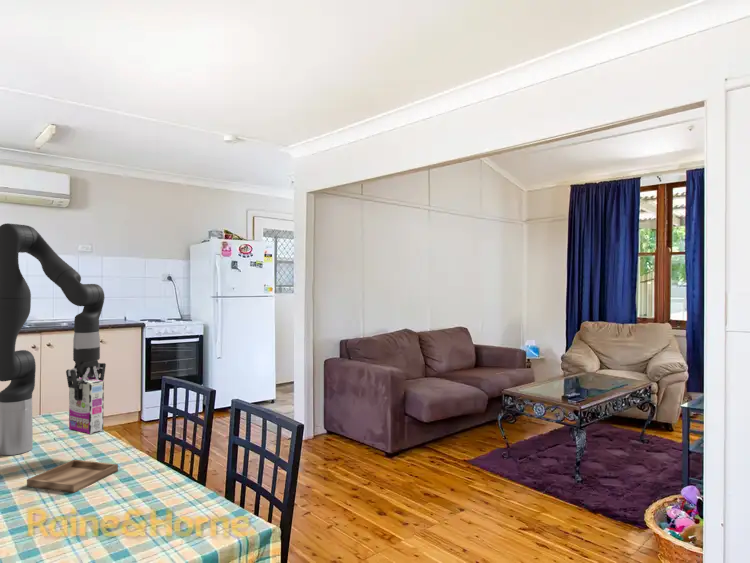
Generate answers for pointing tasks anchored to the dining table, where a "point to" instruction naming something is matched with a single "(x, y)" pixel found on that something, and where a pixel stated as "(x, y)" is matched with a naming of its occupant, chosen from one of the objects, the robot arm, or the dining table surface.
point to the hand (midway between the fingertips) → (86, 397)
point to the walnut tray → (72, 476)
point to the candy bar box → (87, 408)
